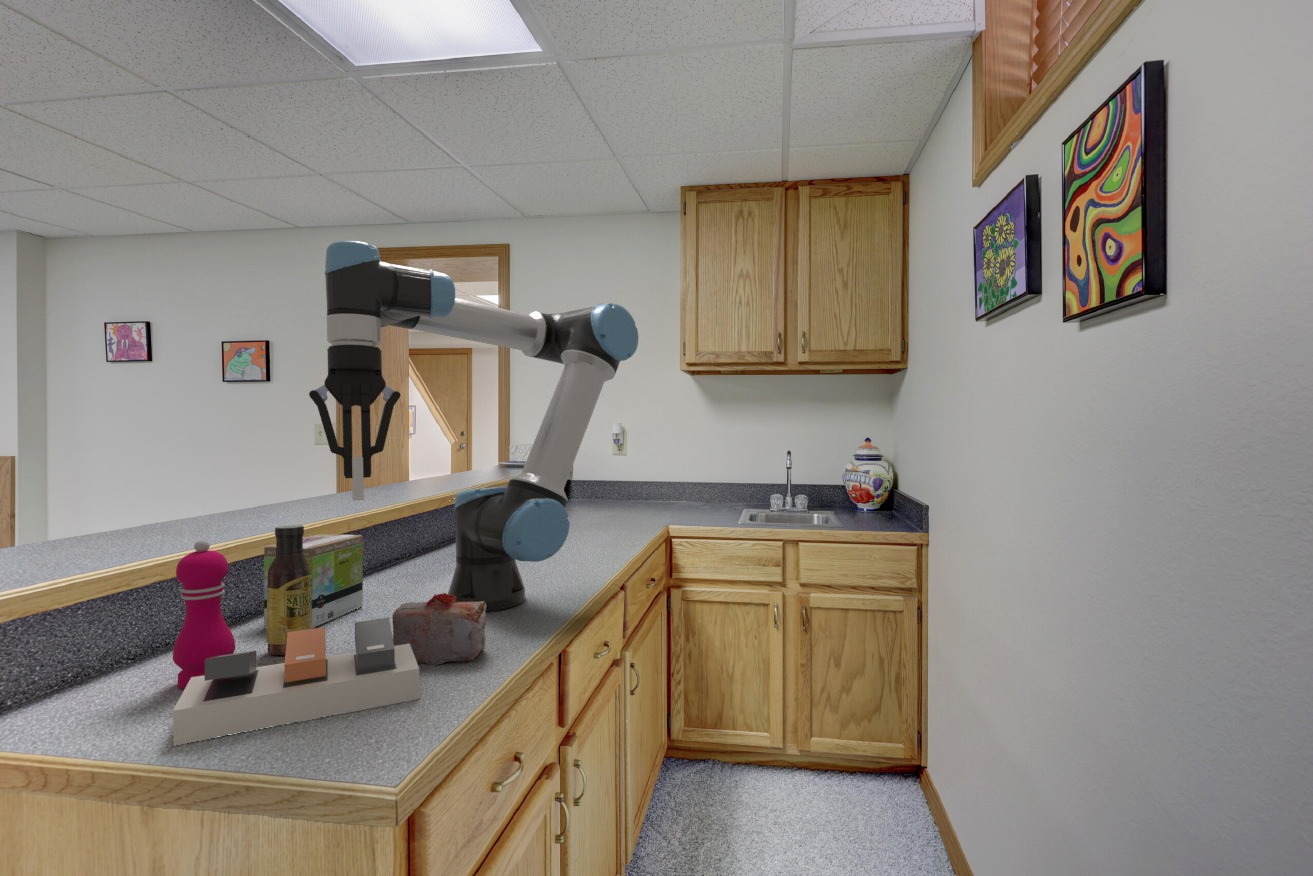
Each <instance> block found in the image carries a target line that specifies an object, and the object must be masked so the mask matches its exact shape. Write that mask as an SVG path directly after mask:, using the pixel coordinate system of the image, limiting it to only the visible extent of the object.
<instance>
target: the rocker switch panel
mask: <svg viewBox="0 0 1313 876" xmlns="http://www.w3.org/2000/svg"><path fill="white" fill-rule="evenodd" d="M394 648H395V665H392V666H386V667H380V668H374V669H368V670H362V671H357V659H356V651H353V652H347V653H339V654H335V655H326V676H322V677H316V678H310V679H304V680H298V681H292V682H286V683H285V668H284V664H285V662H282V663H276V664H275V663H274V664H268V665H261V666H256V670H255V671H253V672H251V673H250V674H245V675H238V676H232V677H226V678H219V679H213V680H207V681H205V675H203V676H197V677H191V679H190V681H189V682H188V684H187V686H186V688H185V690H183V692H182V693H181V695H180V697H179V699H178V701H177V702H176V705H175V706H174V708H173V709H172V730H173V731H172V732H173V734H172V735H173V739H172V740H173V747H177V746H176V745H178V746H183V745H187V743H189V744H191V743H190V742H194V743H197V742H196V741H199V742H203V741H202V740H204V741H206V740H205V739H209V740H211V739H210V738H215V737H217V736H224V735H228V734H234V733H238V732H244V731H250V730H256V729H260V728H266V727H270V726H277V725H282V724H287V723H292V722H298V723H301V721H303V722H307V720H308V721H311V720H312V719H313V720H316V719H315V718H318V719H321V718H320V717H323V716H329V717H332V716H331V715H334V716H337V715H338V714H339V715H343V714H348V713H354V712H358V711H365V710H370V709H375V708H380V707H384V706H390V705H394V704H401V703H406V702H411V701H417V700H421V697H420V695H421V694H420V693H421V691H420V690H421V689H420V688H421V687H420V685H421V683H420V666H419V665H418V664H419V663H417V661H416V659H415V656H414V654H413V651H412V648H411V646H410V644H404V645H397V646H394ZM313 720H312V721H313ZM287 725H288V724H287ZM282 726H283V725H282ZM277 727H278V726H277ZM256 731H257V730H256ZM215 739H216V738H215ZM182 744H183V745H182Z"/></svg>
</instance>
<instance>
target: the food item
mask: <svg viewBox="0 0 1313 876" xmlns="http://www.w3.org/2000/svg"><path fill="white" fill-rule="evenodd" d="M486 607H487V606H486V603H485V601H480V602H456V596H454V595H449V594H448V593H446V592H444V593H438V594H437V593H434V594H433V595H432V597H431V598H430V599H429V600H428V601H422V602H421V601H419V602H416V601H415V602H414V601H413V602H412V601H410V602H404V603H403V604H400V606H399V607H397V608H396V609H395V610H394V612H393V614H392V617H391V618H392V619H391V620H392V636H393V642H394V646H397V645H404V644H410V646H411V648H412V651H413V654H414V656H415V659H416V661H417V664H422V663H423V664H424V663H426V664H427V665H429V666H437V665H441V664H442V665H443V664H444V663H449V662H450V663H451V662H452V663H455V662H456V663H458V662H470V661H472V660H474V659H475V658H477V657H478V655H479V654H480V653H481V652H482V651H484V650H485V647H486V639H487V638H486V632H485V630H486V616H487V615H486V612H487V611H486Z"/></svg>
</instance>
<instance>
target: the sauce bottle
mask: <svg viewBox="0 0 1313 876" xmlns="http://www.w3.org/2000/svg"><path fill="white" fill-rule="evenodd" d="M274 528H275V529H274V535H275V539H276V542H275V543H276V558H275V559H274V561H273V562H272V564H271V566H270V567H269V570H268V586H267V627H266V643H267V652H268V654H270V655H272V656H285V654H286V644H287V634H288V632H293V631H300V630H308V629H312V612H311V611H312V589H311V586H312V575H311V573H310V570H309V568H308V565H307V562H306V559H305V556H304V554H303V538H304V534H305V527H304V525H301V524H291V525H290V524H288V525H279V526H276V527H274Z"/></svg>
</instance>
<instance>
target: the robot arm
mask: <svg viewBox="0 0 1313 876" xmlns="http://www.w3.org/2000/svg"><path fill="white" fill-rule="evenodd" d="M324 275H325V291H326V341H327V342H328V343H329V344H331V345H329V346H328V347H327V377H326V378H325V379H324V384H323V385H322V386H320V387H318V388H316V389H313V390H310V391H309V393H308V395H309V398H310V399H311V400H312V401H313V403H314V405H316V407H317V410H318V413H319V417H320V420H321V422H322V427H323V431H324V433H325V438H326V440H327V444H328V447H329V450H330V452H331V453H332V454H335V455H337V456H341V457H342V460H343V476H344V478H345V479H351V485H352V488H351V489H352V490H351V491H352V496H351V497H352V501H355V502H356V501H364V500H365V492H364V490H365V489H364V488H365V487H364V479H365V478H366V479H367V478H371V476H372V457H373V456H374V455H376V454H378V453H382V452H383V451H384V449H385V445H386V440H387V436H388V431H389V429H390V423H391V419H392V415H393V411H394V406H395V405H396V403H397V402H398V401H399V399H400V398H401V392H399V391H397V390H394V389H392V388H390V387H389V386H387V385H386V384H387V383H386V380H385V378H384V377H383V365H382V363H383V361H382V357H383V356H382V349H381V347H378V346H380V345H381V344H382V328H384V327H388V326H390V327H395V328H403V329H407V330H408V329H409V330H414V331H419V332H425V333H428V334H430V333H431V334H435V335H441V336H446V337H451V338H455V339H460V340H461V339H462V340H466V341H467V340H468V341H471V342H477V343H482V344H486V345H493V346H498V347H503V348H508V349H513V350H519V351H521V352H522V354H523V355H524V356H526V357H529V358H535V359H538V360H543V361H547V362H548V361H549V362H553V363H557V364H561V365H564V367H563V370H562V371H561V374H560V377H559V380H558V381H557V382H558V383H557V385H556V387H555V389H554V391H553V395H552V397H551V398H550V399H551V400H550V401H549V404H548V407H547V408H546V412H545V414H544V416H543V419H542V422H541V424H540V426H539V428H538V431H537V433H536V436H535V439H534V441H533V443H532V447H531V449H530V451H529V454H528V456H527V458H526V460H525V463H524V466H523V468H522V470H521V472H520V473H519V474H518V475H516V476H513V477H511V478H510V479H509V480H508V481H509V482H508V483H507V486H505V485H504V486H494V487H486V488H485V487H483V488H477V489H476V488H475V489H467V490H466V489H465V490H461V491H459V492H458V493H457V494H456V495H455V499H454V501H455V502H454V509H453V511H454V523H455V524H454V527H455V528H454V529H455V566H456V567H455V568H454V569H455V570H454V573H453V576H452V580H451V582H450V585H449V588H448V593H447V594H449V595H454V596H456V602H480V601H485V603H486V606H487V607H486V611H485V612H494V611H501V610H506V609H510V608H513V607H516V606H518V605H521V604H522V603H524V602H525V600H526V588H525V585H524V582H523V579H522V576H521V574H520V571H519V567H518V564H517V561H518V562H533V563H537V562H542V561H546V560H547V559H549V558H551V557H553V556H554V555H556V554H557V553H558V552H559V551H560V550H561V548H562V547H563V546H564V544H565V542H566V541H567V538H568V536H569V531H570V521H569V519H568V517H569V514H568V512H567V509H566V506H567V504H568V501H569V500H568V499H569V498H568V497H567V495H566V492H565V487H566V484H567V481H568V479H569V476H570V474H571V471H572V468H573V465H574V464H575V460H576V458H577V455H578V453H579V450H580V448H581V445H582V442H583V439H584V437H585V434H586V432H587V429H588V425H589V424H590V421H591V418H592V416H593V413H594V411H595V408H596V405H597V403H598V399H599V398H600V394H601V392H602V390H603V387H604V384H605V382H608V381H610V380H613V379H614V378H615V376H616V373H617V371H618V369H619V366H620V362H622V361H624V362H625V361H627V360H628V359H630V358H631V357H633V356H634V354H635V353H636V352H637V349H638V346H639V332H638V331H639V330H638V327H636V321H635V320H634V318H633V316H632V314H631V313H630V312H629V311H628V309H626V308H625V307H624V306H622V305H620V304H617V303H614V302H612V303H611V302H609V303H598V304H596V305H594V306H591V307H586V308H581V309H574V310H570V311H569V310H568V311H566V312H557V313H545V312H544V313H543V312H538V311H531V312H530V313H528V314H526V313H521V312H517V311H512V310H509V309H504V308H501V307H496V306H492V305H489V304H488V305H487V304H484V303H479V302H476V301H471V300H466V299H463V298H459V297H458V298H457V297H456V287H455V283H454V281H453V279H452V278H451V276H449V275H448V274H446V273H443V272H439V271H436V270H433V269H431V268H430V269H425V268H418V267H412V266H405V265H400V264H393V263H388V262H385V261H382V258H381V256H380V251H379V249H378V248H377V247H376V246H375V245H372V244H369V243H367V242H363V241H356V240H338V241H334V242H332V243H331V244H329V245H328V246H327V248H326V254H325V271H324ZM328 392H329V393H330V395H332V397H333V398H334V399H335V401H336V402H337V403H338V404H339V405H341V406H342V409H341V410H342V413H341V414H342V446H339V444H338V441H337V436H336V434H335V430H334V428H333V423H332V421H331V417H330V412H329V410H328V407H327V403H326V401H327V400H328V395H327V393H328ZM381 393H383V397H382V399H383V401H384V405H383V408H382V414H381V417H380V422H379V426H378V428H377V435H376V438H375V439H376V440H375V442H374V445H372V442H371V441H372V438H371V437H372V436H371V430H372V429H371V405H373V404H374V403H375V401H376V400H377V399H378V398H379V396H380V394H381ZM354 406H357V407H360V430H361V434H360V435H361V456H353V421H352V420H353V419H352V417H353V416H352V415H353V413H352V410H353V409H352V408H353V407H354Z"/></svg>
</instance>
